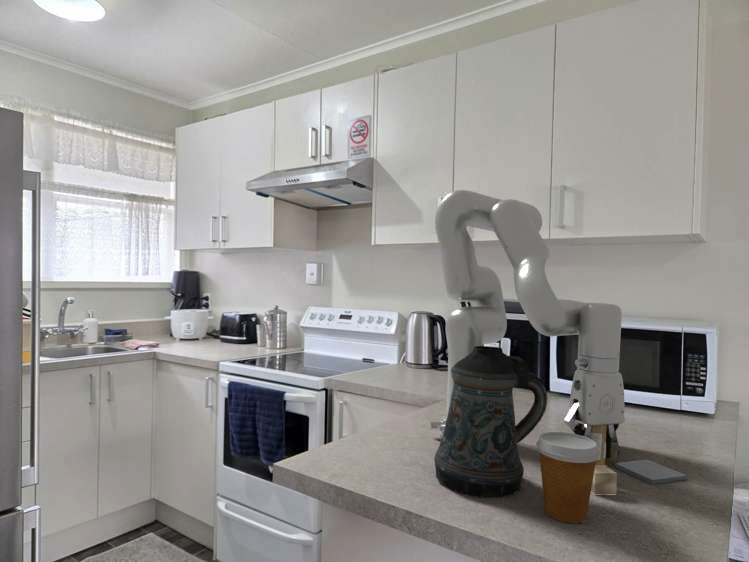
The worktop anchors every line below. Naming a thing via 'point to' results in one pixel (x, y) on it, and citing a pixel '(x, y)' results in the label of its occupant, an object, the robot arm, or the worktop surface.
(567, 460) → the disposable coffee cup
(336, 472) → the worktop surface
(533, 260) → the robot arm
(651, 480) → the slate coaster
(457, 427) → the beer stein
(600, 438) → the sprinkles bottle
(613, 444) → the walnut block
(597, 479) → the beech block
